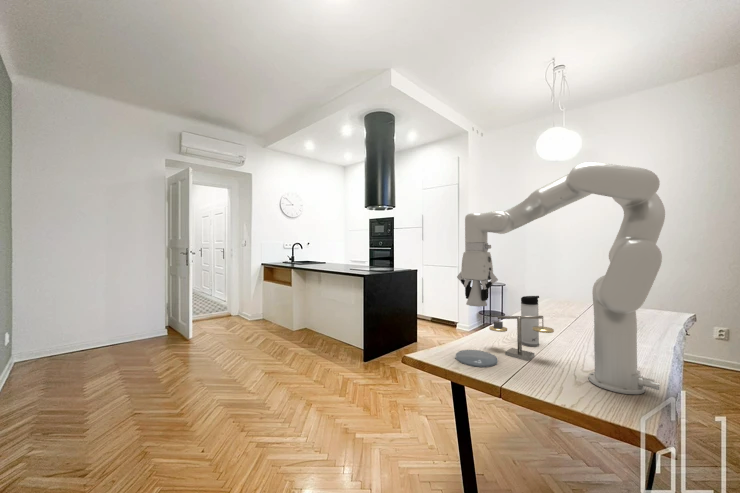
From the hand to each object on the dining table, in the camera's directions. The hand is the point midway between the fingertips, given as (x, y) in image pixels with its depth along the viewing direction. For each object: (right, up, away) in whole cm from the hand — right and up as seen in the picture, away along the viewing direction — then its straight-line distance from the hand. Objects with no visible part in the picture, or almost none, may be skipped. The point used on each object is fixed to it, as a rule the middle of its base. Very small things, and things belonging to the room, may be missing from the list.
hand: (476, 298), depth 105 cm
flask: (0, -2, 0) cm, 2 cm away
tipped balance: (+17, -21, +4) cm, 28 cm away
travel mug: (+28, -22, +16) cm, 39 cm away
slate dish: (0, -22, 0) cm, 22 cm away
